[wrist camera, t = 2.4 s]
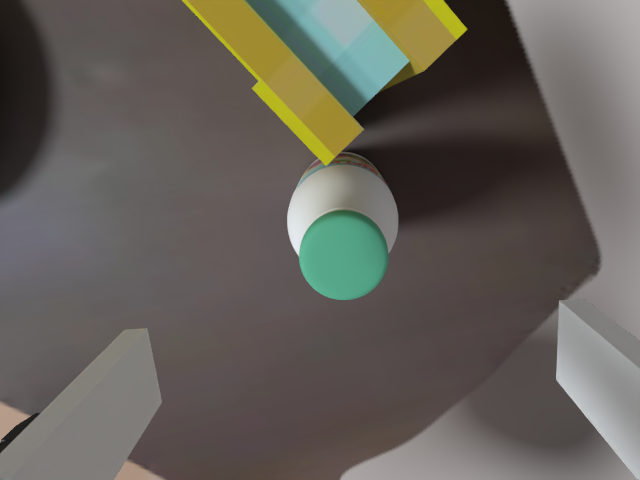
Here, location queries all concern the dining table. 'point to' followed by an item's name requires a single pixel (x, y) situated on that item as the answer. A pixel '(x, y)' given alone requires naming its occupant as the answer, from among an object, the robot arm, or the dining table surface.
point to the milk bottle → (343, 226)
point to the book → (329, 55)
